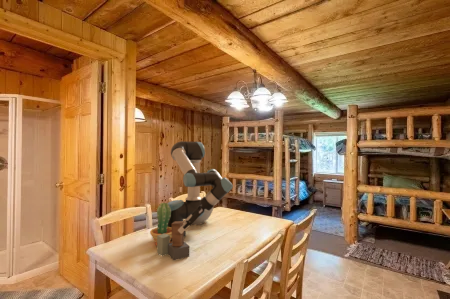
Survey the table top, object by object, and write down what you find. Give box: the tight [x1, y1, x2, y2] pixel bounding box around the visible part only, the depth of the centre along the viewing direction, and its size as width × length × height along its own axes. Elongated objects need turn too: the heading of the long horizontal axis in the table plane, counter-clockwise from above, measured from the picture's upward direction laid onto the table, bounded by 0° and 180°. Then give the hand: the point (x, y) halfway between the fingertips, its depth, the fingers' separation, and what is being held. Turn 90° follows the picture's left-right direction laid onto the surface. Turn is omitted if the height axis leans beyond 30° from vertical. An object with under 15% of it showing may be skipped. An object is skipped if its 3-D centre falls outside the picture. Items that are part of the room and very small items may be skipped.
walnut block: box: [171, 220, 185, 246], centre depth 130 cm, size 5×5×12 cm
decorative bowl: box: [184, 207, 214, 226], centre depth 190 cm, size 27×27×12 cm
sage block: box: [156, 233, 171, 257], centre depth 133 cm, size 5×5×10 cm
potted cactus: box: [149, 202, 172, 246], centre depth 146 cm, size 15×15×25 cm
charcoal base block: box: [167, 241, 190, 261], centre depth 130 cm, size 9×9×6 cm
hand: (182, 227), depth 129 cm, fingers open, 13 cm apart
